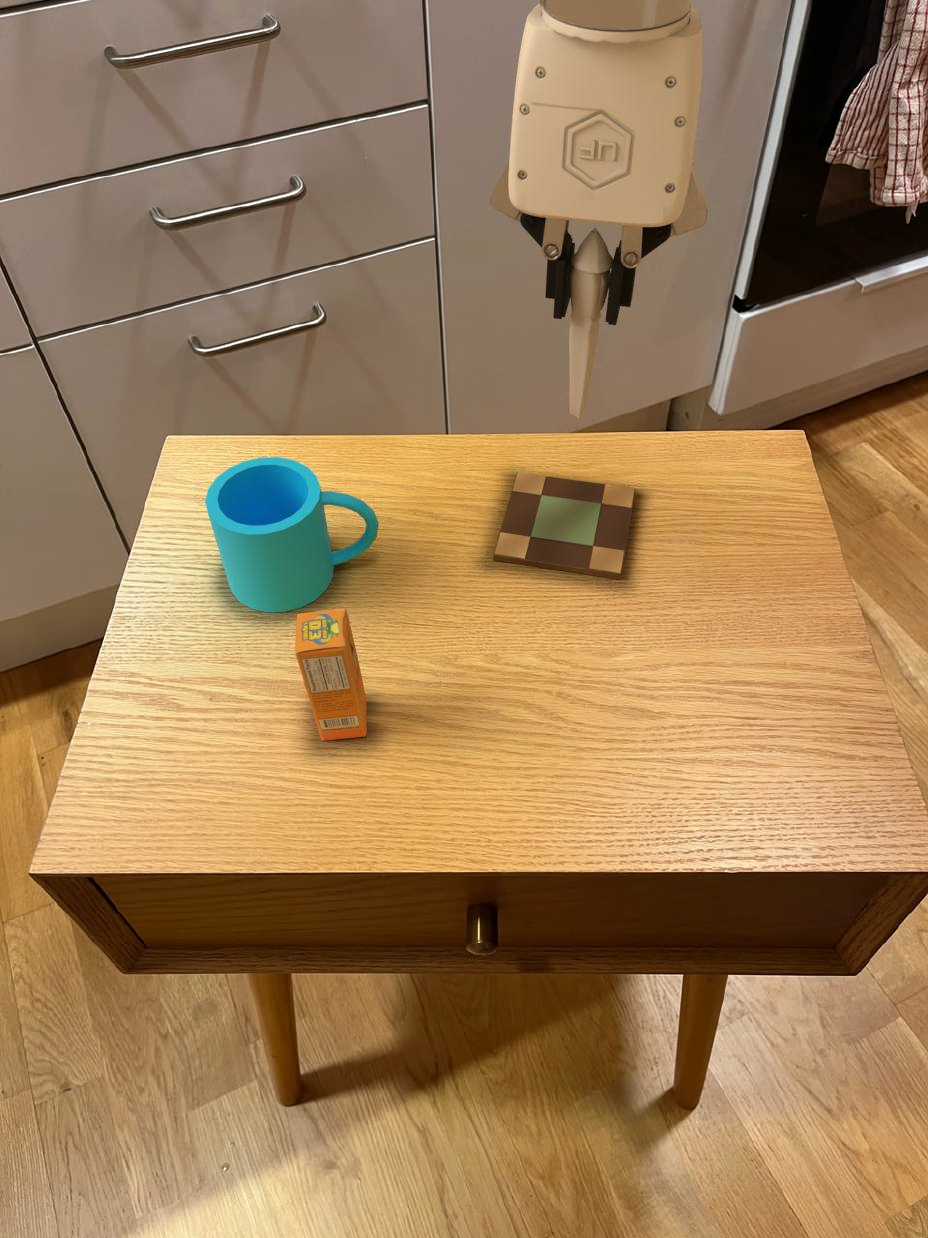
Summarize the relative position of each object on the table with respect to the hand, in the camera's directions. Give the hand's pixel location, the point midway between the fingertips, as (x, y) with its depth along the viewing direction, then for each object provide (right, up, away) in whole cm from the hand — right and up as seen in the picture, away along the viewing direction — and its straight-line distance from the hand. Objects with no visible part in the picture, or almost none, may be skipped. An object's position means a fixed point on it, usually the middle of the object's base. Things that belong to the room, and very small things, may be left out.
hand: (587, 308), depth 62 cm
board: (0, -13, +15) cm, 20 cm away
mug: (-20, -16, +13) cm, 29 cm away
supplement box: (-16, -27, +3) cm, 32 cm away
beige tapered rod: (0, -6, +7) cm, 9 cm away
